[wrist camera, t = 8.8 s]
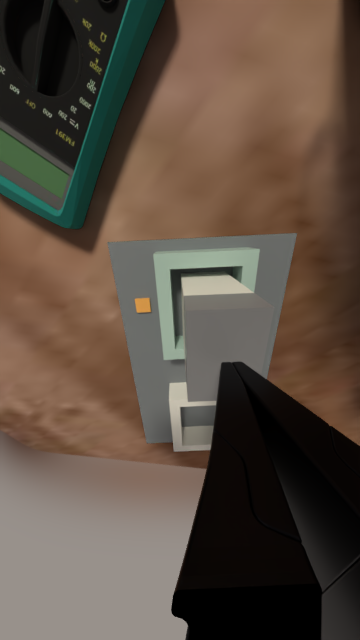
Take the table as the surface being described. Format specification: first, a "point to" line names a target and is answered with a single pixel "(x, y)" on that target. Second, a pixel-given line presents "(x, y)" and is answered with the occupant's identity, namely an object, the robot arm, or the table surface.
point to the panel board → (144, 321)
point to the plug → (220, 329)
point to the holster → (187, 436)
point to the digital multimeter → (64, 96)
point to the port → (166, 260)
